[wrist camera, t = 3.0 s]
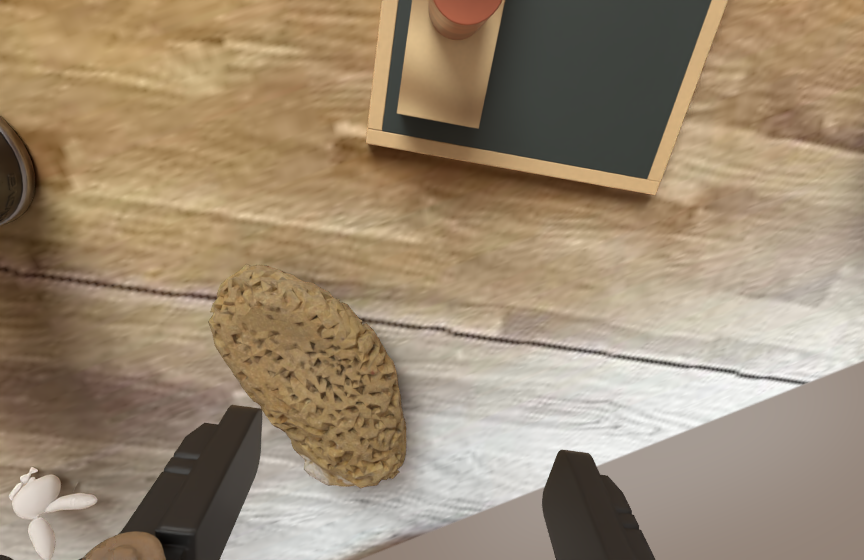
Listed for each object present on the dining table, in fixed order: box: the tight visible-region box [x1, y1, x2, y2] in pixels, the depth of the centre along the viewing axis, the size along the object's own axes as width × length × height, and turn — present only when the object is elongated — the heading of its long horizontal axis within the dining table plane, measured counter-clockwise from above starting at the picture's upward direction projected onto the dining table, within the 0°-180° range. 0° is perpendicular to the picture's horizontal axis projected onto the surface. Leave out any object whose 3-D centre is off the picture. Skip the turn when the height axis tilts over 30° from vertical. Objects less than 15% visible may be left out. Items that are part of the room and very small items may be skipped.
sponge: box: [208, 264, 406, 488], centre depth 36 cm, size 13×8×20 cm
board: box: [366, 0, 728, 195], centre depth 29 cm, size 21×17×1 cm
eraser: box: [397, 0, 505, 129], centre depth 23 cm, size 12×5×10 cm, turn 170°
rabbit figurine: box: [9, 467, 98, 560], centre depth 43 cm, size 6×4×8 cm
